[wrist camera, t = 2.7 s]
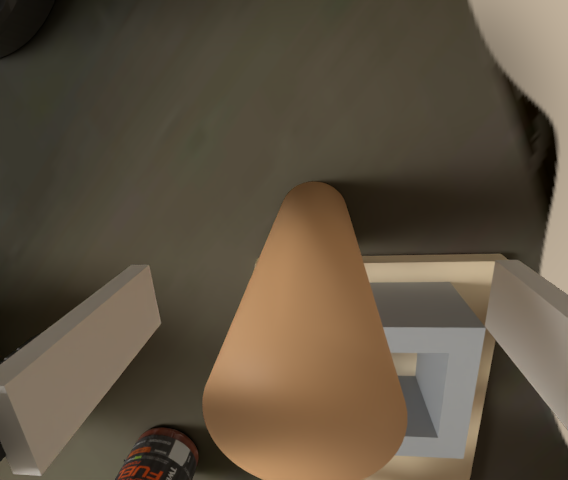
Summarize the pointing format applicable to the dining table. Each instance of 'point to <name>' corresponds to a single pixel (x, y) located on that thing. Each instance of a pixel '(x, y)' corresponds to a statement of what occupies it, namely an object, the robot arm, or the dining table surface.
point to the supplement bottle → (161, 457)
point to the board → (416, 268)
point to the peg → (307, 356)
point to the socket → (433, 362)
